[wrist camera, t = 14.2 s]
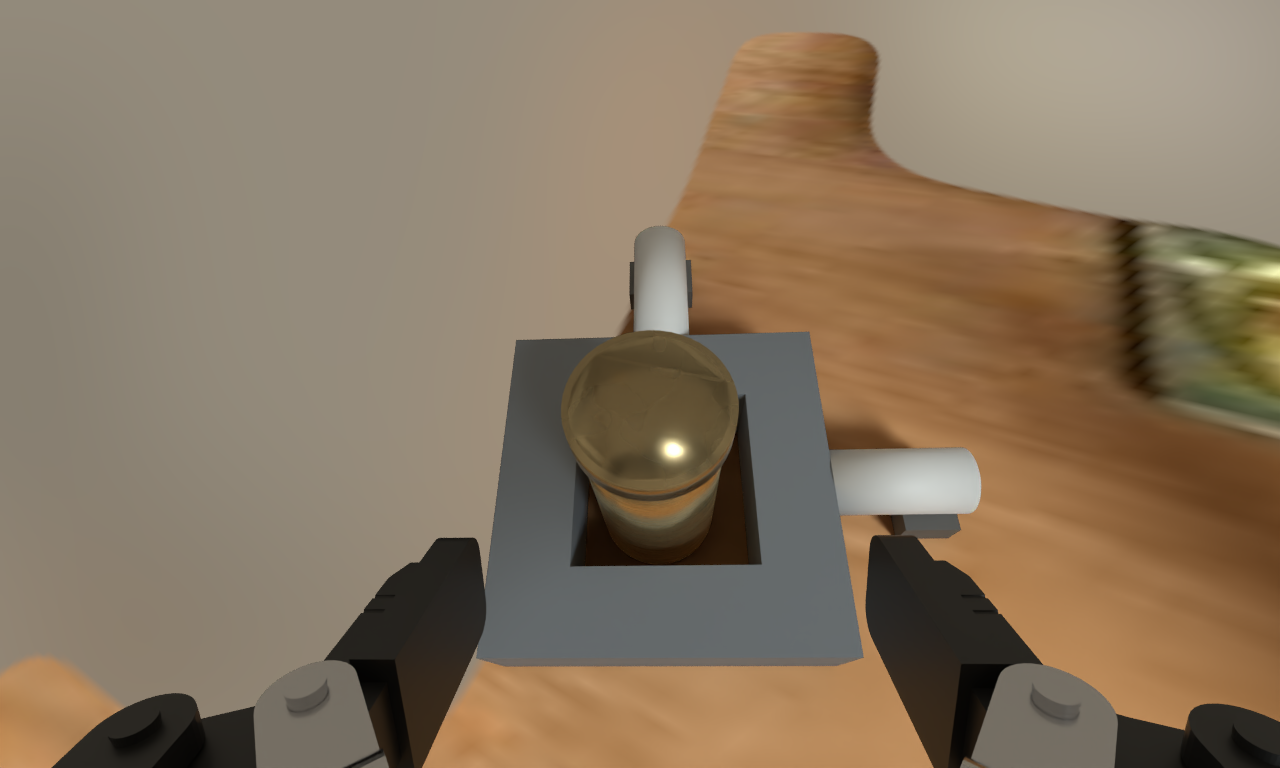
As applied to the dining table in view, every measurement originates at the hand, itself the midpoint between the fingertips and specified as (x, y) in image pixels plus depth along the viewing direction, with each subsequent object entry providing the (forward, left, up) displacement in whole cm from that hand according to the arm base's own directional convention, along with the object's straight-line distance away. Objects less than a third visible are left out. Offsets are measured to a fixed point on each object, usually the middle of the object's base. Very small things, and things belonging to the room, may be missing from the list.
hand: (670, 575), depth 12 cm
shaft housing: (-2, -8, -11) cm, 14 cm away
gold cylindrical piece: (+1, -5, -11) cm, 12 cm away
